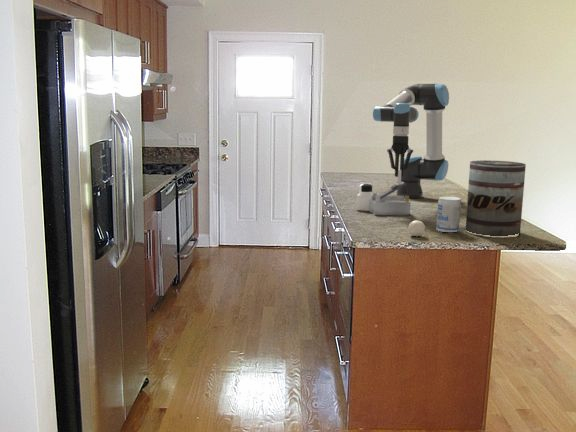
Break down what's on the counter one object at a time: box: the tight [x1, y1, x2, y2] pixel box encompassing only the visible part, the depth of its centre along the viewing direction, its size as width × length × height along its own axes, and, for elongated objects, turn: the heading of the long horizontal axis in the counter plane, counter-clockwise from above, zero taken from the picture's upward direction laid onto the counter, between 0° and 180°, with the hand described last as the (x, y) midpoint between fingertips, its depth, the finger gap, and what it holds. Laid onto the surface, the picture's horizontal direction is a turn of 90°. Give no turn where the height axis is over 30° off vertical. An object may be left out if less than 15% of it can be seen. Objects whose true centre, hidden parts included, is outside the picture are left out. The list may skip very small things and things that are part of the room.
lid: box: [375, 182, 406, 199], centre depth 320 cm, size 16×4×2 cm, turn 97°
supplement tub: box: [435, 195, 462, 233], centre depth 278 cm, size 10×10×15 cm
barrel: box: [465, 159, 527, 236], centre depth 277 cm, size 22×22×30 cm
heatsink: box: [368, 192, 411, 216], centre depth 321 cm, size 18×10×10 cm, turn 97°
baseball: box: [407, 219, 426, 237], centre depth 268 cm, size 7×7×7 cm
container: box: [355, 183, 373, 212], centre depth 330 cm, size 8×8×13 cm
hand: (398, 183), depth 320 cm, fingers closed
